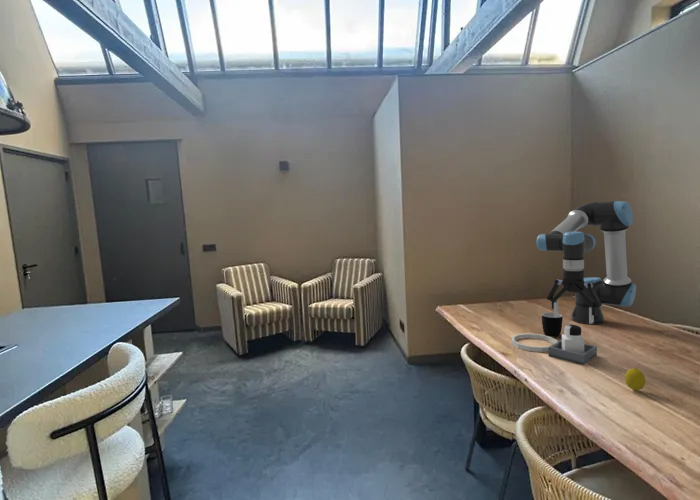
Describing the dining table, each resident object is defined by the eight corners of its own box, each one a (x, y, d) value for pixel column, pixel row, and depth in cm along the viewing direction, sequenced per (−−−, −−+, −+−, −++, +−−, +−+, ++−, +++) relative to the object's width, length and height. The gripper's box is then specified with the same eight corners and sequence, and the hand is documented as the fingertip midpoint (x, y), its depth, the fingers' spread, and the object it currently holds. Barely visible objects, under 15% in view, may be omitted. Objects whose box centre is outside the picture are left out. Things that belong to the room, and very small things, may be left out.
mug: (565, 338, 184) (565, 317, 183) (545, 338, 185) (545, 317, 184) (555, 330, 196) (555, 310, 195) (536, 330, 197) (536, 311, 196)
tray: (562, 347, 172) (562, 339, 171) (596, 355, 161) (597, 346, 161) (548, 356, 163) (548, 347, 163) (583, 365, 153) (584, 355, 152)
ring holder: (524, 334, 191) (524, 331, 191) (565, 343, 176) (565, 339, 176) (504, 344, 179) (504, 340, 179) (546, 355, 165) (546, 350, 164)
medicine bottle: (580, 351, 164) (580, 323, 163) (584, 357, 158) (584, 328, 157) (561, 350, 167) (561, 322, 166) (564, 356, 160) (564, 327, 159)
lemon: (620, 387, 133) (621, 365, 132) (635, 386, 134) (636, 364, 133) (633, 395, 128) (634, 372, 127) (649, 393, 128) (650, 370, 127)
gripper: (538, 268, 166) (538, 316, 168) (604, 273, 147) (604, 328, 149) (546, 265, 171) (546, 312, 173) (611, 270, 151) (610, 323, 154)
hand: (573, 319), depth 161 cm, fingers open, 13 cm apart
